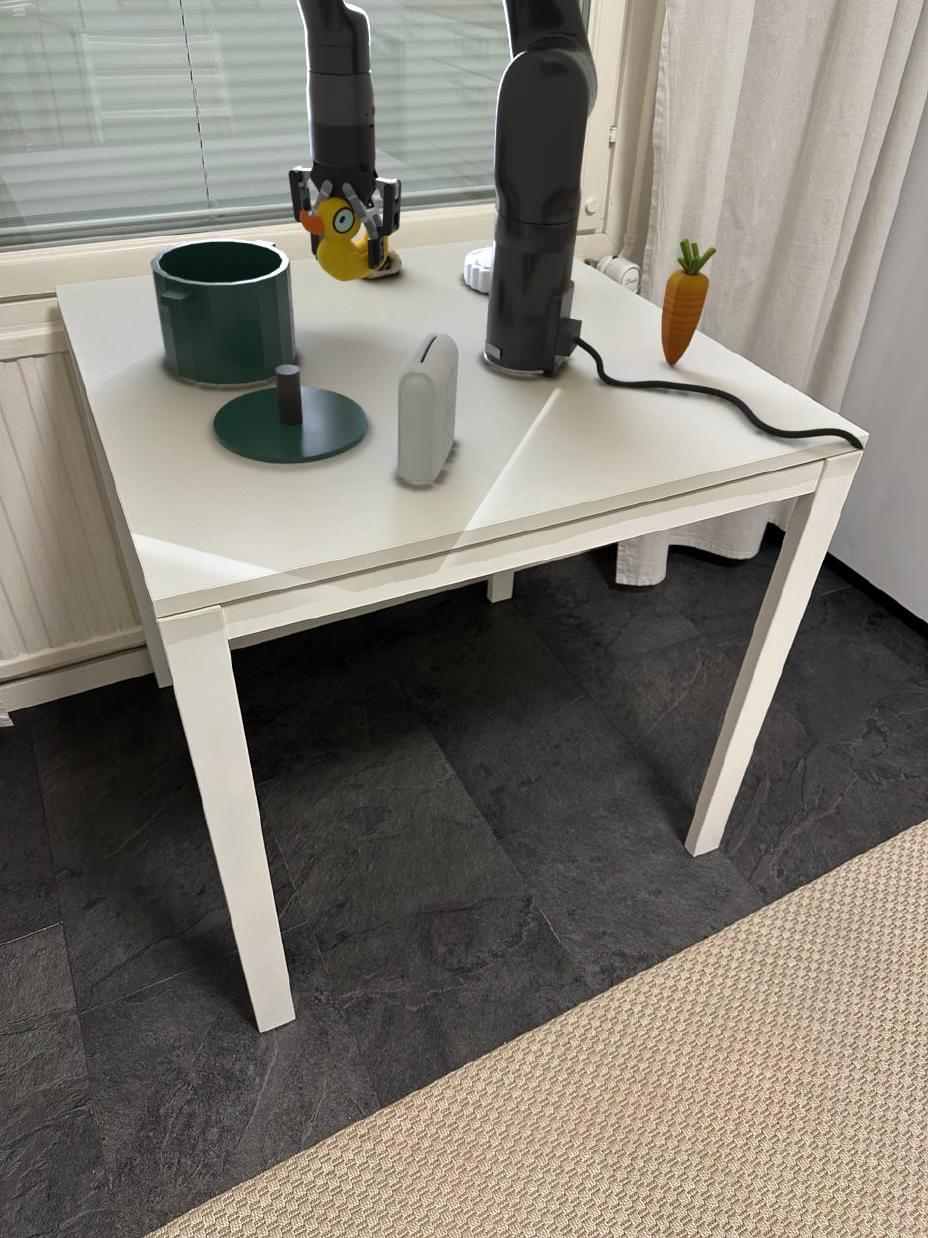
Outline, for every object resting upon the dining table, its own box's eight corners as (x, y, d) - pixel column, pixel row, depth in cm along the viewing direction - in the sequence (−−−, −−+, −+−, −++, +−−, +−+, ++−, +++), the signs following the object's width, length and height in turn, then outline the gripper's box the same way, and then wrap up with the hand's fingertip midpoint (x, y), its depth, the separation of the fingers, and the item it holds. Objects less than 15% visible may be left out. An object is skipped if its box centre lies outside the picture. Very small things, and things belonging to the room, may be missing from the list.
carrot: (698, 366, 113) (727, 241, 104) (676, 378, 110) (704, 250, 101) (665, 353, 116) (690, 229, 106) (642, 364, 113) (666, 238, 103)
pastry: (338, 259, 136) (337, 232, 134) (380, 254, 139) (380, 228, 136) (363, 280, 130) (363, 252, 127) (407, 275, 132) (407, 248, 130)
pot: (326, 340, 113) (322, 244, 106) (244, 409, 98) (232, 303, 91) (222, 320, 117) (211, 225, 109) (127, 382, 102) (106, 278, 94)
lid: (390, 413, 100) (390, 354, 95) (326, 482, 88) (323, 418, 84) (261, 385, 103) (256, 327, 99) (184, 448, 92) (174, 385, 87)
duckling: (314, 293, 113) (308, 207, 106) (297, 279, 116) (290, 195, 110) (396, 279, 117) (395, 195, 111) (377, 265, 121) (375, 184, 114)
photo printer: (418, 433, 96) (421, 318, 88) (458, 439, 96) (464, 324, 88) (391, 483, 89) (392, 361, 81) (435, 490, 88) (440, 368, 80)
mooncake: (549, 299, 128) (552, 273, 126) (463, 294, 128) (464, 268, 125) (544, 270, 137) (547, 245, 135) (464, 265, 137) (465, 240, 134)
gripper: (269, 114, 104) (283, 264, 114) (385, 128, 100) (388, 281, 111) (300, 102, 109) (311, 246, 120) (412, 115, 106) (413, 262, 116)
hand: (348, 262), depth 115 cm, fingers closed on duckling, 6 cm apart
